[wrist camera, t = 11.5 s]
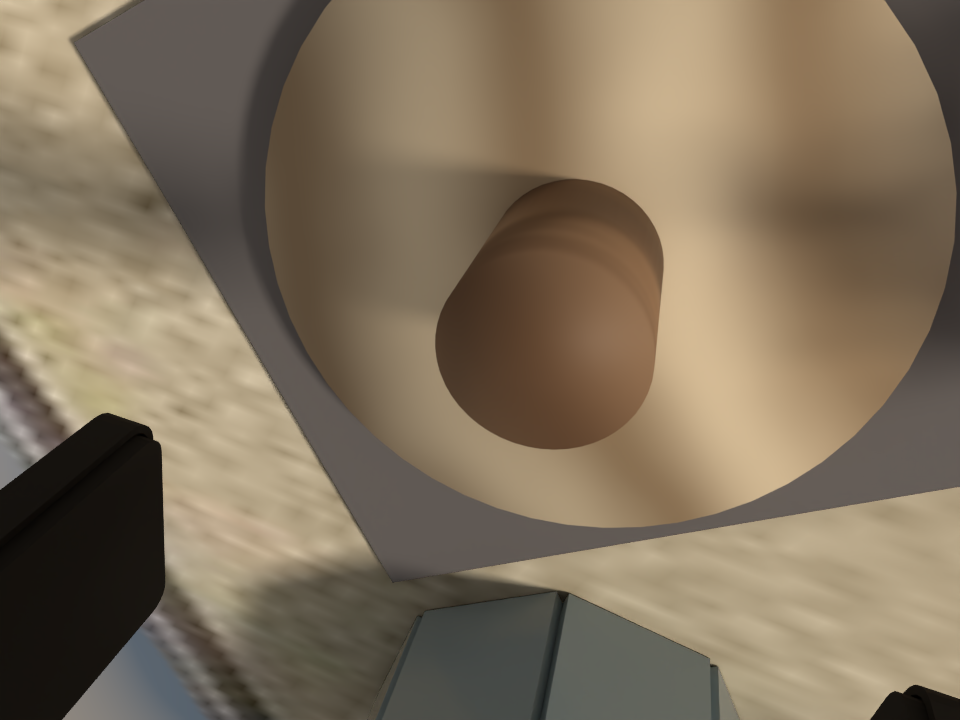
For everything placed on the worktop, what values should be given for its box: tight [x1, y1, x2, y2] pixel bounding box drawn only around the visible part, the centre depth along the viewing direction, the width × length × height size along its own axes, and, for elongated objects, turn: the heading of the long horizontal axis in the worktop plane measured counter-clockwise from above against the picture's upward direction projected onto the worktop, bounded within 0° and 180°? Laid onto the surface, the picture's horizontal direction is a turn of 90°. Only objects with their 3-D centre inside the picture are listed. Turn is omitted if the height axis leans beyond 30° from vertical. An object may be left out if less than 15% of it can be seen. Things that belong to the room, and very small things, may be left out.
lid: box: [265, 0, 957, 528], centre depth 18 cm, size 17×17×6 cm
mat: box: [74, 0, 960, 583], centre depth 21 cm, size 22×20×1 cm
